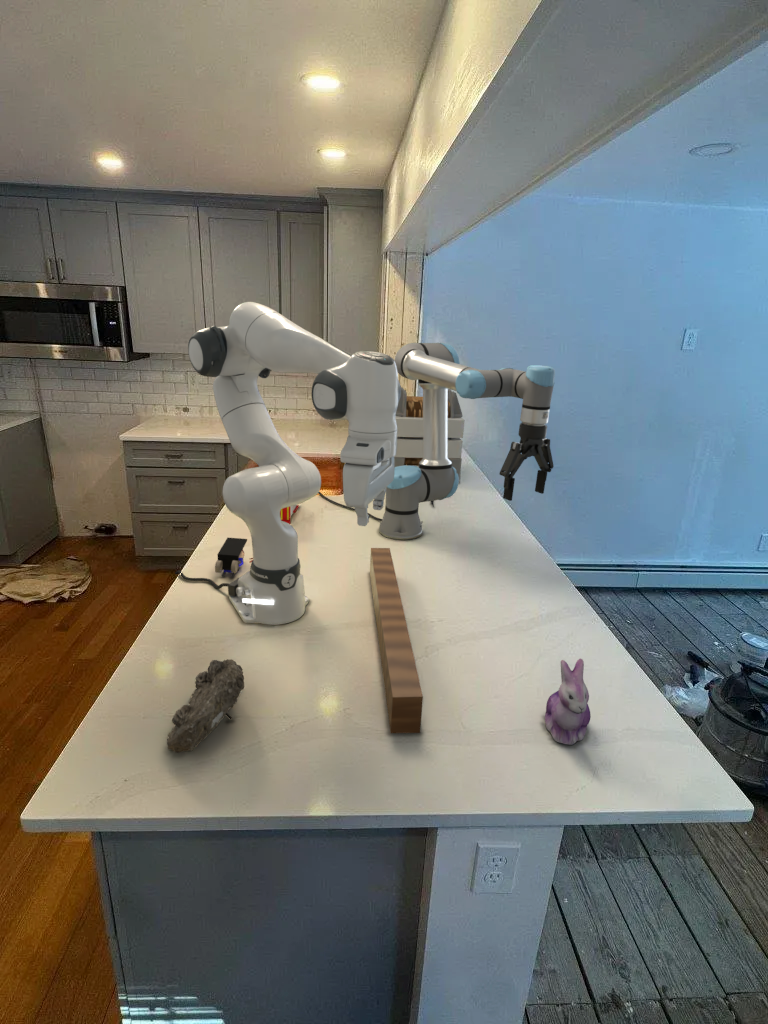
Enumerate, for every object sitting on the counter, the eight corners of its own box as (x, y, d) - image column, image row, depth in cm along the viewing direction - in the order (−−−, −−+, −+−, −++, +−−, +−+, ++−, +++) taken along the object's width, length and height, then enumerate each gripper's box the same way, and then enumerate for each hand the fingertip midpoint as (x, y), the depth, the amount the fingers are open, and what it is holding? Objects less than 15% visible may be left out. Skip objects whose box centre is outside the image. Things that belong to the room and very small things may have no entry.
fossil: (192, 660, 117) (244, 628, 112) (224, 691, 120) (276, 661, 115) (142, 746, 98) (202, 712, 93) (182, 779, 101) (242, 748, 96)
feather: (431, 489, 254) (434, 486, 253) (433, 508, 227) (436, 504, 227) (428, 487, 254) (431, 484, 253) (429, 506, 227) (432, 502, 227)
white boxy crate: (382, 463, 289) (386, 382, 275) (445, 464, 293) (451, 384, 279) (390, 482, 257) (394, 392, 243) (460, 483, 261) (468, 394, 247)
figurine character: (238, 584, 162) (249, 557, 175) (236, 562, 158) (247, 536, 172) (215, 584, 161) (227, 556, 175) (212, 561, 158) (225, 535, 171)
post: (369, 573, 170) (370, 547, 167) (388, 573, 170) (389, 548, 167) (390, 733, 106) (392, 697, 103) (420, 732, 106) (423, 696, 104)
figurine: (568, 754, 103) (581, 685, 97) (530, 719, 111) (540, 654, 106) (605, 739, 107) (619, 671, 102) (565, 706, 115) (577, 642, 110)
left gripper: (372, 433, 113) (371, 499, 118) (336, 454, 94) (336, 532, 99) (403, 435, 111) (400, 502, 116) (372, 458, 93) (370, 536, 97)
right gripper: (513, 429, 148) (503, 506, 155) (573, 422, 161) (561, 493, 169) (492, 424, 153) (483, 498, 161) (552, 417, 167) (541, 486, 174)
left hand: (370, 516), depth 107 cm, fingers open, 8 cm apart
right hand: (523, 495), depth 165 cm, fingers open, 13 cm apart
